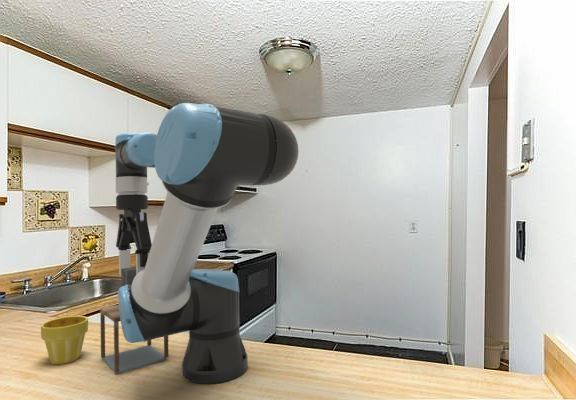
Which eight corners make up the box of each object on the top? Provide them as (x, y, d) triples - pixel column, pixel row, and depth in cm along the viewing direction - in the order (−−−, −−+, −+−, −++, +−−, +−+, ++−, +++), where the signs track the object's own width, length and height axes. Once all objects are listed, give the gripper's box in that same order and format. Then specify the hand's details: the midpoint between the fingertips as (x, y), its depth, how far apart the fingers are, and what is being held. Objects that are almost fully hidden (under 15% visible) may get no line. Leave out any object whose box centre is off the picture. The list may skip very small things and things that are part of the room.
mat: (166, 359, 92) (166, 357, 92) (116, 374, 84) (116, 371, 84) (149, 346, 101) (149, 344, 101) (102, 359, 93) (102, 357, 93)
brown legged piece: (168, 357, 92) (167, 267, 92) (115, 372, 83) (114, 274, 84) (150, 344, 101) (148, 263, 102) (100, 357, 93) (99, 269, 94)
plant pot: (72, 367, 88) (72, 327, 89) (31, 368, 88) (30, 327, 89) (96, 351, 99) (95, 314, 99) (58, 351, 99) (58, 315, 99)
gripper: (165, 191, 87) (167, 280, 86) (131, 197, 105) (132, 270, 105) (133, 190, 82) (134, 285, 81) (103, 197, 100) (104, 274, 100)
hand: (133, 277), depth 93 cm, fingers open, 13 cm apart
